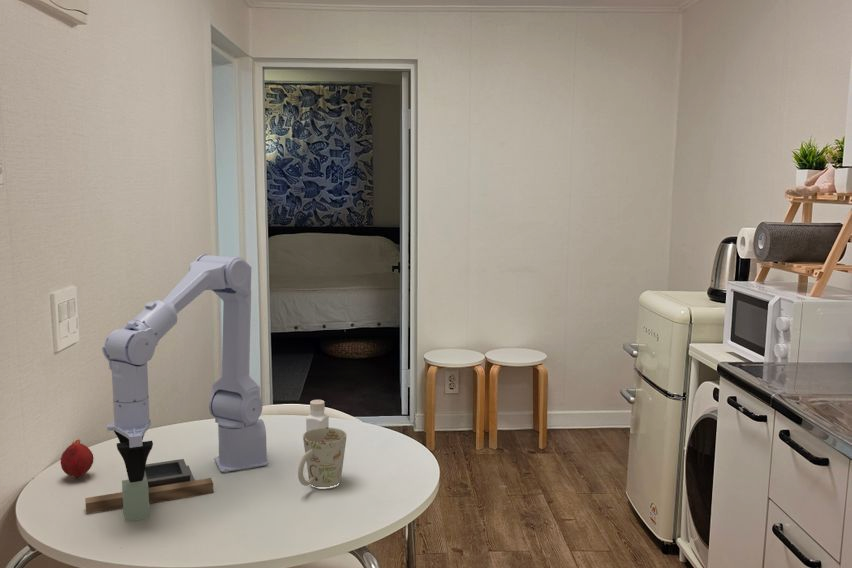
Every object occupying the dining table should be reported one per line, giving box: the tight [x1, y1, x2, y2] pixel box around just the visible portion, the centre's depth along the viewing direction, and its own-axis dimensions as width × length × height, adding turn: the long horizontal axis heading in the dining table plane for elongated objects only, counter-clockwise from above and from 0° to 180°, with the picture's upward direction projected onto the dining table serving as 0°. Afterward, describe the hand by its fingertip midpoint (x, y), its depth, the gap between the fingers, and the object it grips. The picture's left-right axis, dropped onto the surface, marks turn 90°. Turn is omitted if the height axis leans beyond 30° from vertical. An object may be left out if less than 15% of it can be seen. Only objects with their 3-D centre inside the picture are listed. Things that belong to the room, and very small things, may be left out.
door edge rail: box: [84, 477, 214, 515], centre depth 137 cm, size 22×2×2 cm, turn 116°
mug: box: [297, 427, 347, 487], centre depth 144 cm, size 8×13×10 cm, turn 155°
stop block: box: [121, 477, 150, 523], centre depth 131 cm, size 4×4×6 cm
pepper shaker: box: [305, 399, 330, 433], centre depth 167 cm, size 4×4×10 cm
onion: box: [59, 438, 95, 479], centre depth 146 cm, size 6×6×8 cm
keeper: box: [144, 458, 196, 488], centre depth 145 cm, size 11×11×3 cm
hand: (134, 472), depth 131 cm, fingers open, 7 cm apart
